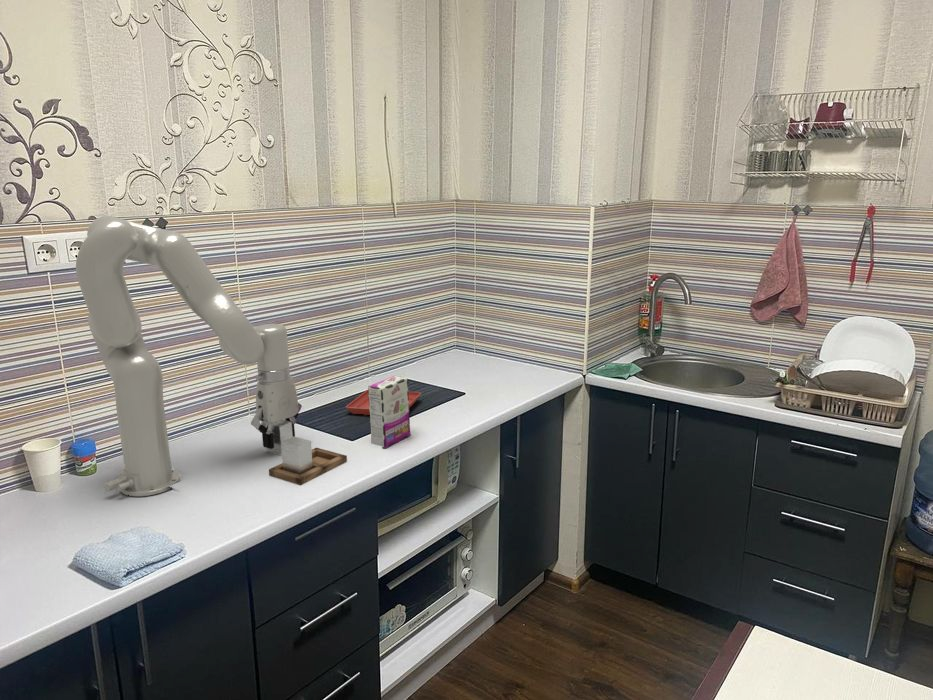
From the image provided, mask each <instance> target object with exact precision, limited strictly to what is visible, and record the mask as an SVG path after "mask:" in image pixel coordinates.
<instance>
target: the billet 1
mask: <svg viewBox="0 0 933 700" xmlns="http://www.w3.org/2000/svg"><path fill="white" fill-rule="evenodd" d="M267 424H268V423H266V426H265V427H266V428H267ZM271 433H273V441H274V448H273V449H269V448H266V447H265V449H266V450H265V452H267V453H270V454H273V455H277V456H280V457H282V449H281V442H282V441H284V440H286V439H289V438H291V437H293V434H292V422H289V421H285V420H282V421H279V422H277V423H274V424H273V425H272V429H271Z"/></svg>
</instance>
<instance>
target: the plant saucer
mask: <svg viewBox="0 0 933 700" xmlns="http://www.w3.org/2000/svg"><path fill="white" fill-rule="evenodd" d="M421 395H422V392H419V391H408V396H409V409H410V408H411V407H412V406H413V405H414V404H415V403H416V402H417V401H418V399H419V398H420V396H421ZM345 409H347V411H349V412H350V413H351V414H353V415H354V414H364V415H363V416H367V415H370V409H369V393H368V389H366V390H365V391H364V392H362V393H361V394H360V395H358V396H357V397H356V398H355V399H354V400H352V401H351V402H350V403H348V404H347V405H346V406H345Z"/></svg>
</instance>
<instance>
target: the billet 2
mask: <svg viewBox="0 0 933 700" xmlns="http://www.w3.org/2000/svg"><path fill="white" fill-rule="evenodd" d="M281 449H282V456H281V459H282V463H283V470H285V471H288V472H291V473H295V474H298V475H301V474H303V473H305V472H307V471H309V470H311V469H313V465H312V441H311V440H309V439H305V438H302V437H298V436H295V437H294V436H293V437H291V438H289V439H286V440H284V441H282V442H281Z"/></svg>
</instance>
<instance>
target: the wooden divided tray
mask: <svg viewBox="0 0 933 700" xmlns="http://www.w3.org/2000/svg"><path fill="white" fill-rule="evenodd" d="M311 450H312V465H313V469H311V470H309V471H307V472H305V473H303V474H301V475H298V474H295V473H291V472H288V471H285V470H283V462H282V463H279V464H277V465H275V466H273V467H271V468H268V475H269V477H273V478H276V479H279V480H281V481H285V482H289V483H292V484H294V485H299V486H302V485H304V484H306V483H308V482H309V481H311V480H314V479H316V478H318V477H319V476H321V475H324V474H326V473H328V472H329V471H332V470H333V469H336V468H338V467H339V466H341V465H343V464H345V463H347V462H348V455H346V454H342V453H338V452H335V451H331V450H329V449H328V450H327V449H324V448H320V447H314V448H311Z"/></svg>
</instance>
